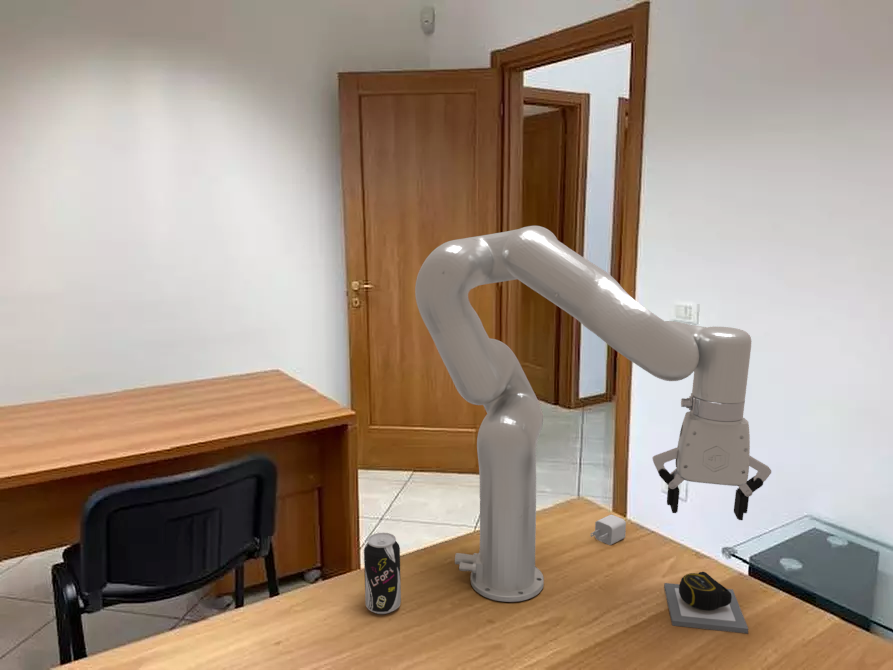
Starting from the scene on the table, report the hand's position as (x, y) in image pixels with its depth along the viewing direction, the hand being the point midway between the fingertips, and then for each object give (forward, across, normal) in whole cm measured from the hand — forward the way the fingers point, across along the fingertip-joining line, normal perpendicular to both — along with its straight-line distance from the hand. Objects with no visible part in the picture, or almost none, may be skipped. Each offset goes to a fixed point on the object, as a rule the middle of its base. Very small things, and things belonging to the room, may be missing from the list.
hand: (705, 512), depth 106 cm
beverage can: (+18, -50, -9) cm, 54 cm away
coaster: (+16, +1, 0) cm, 17 cm away
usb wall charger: (+17, -13, +20) cm, 30 cm away
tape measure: (+16, +1, +1) cm, 16 cm away
